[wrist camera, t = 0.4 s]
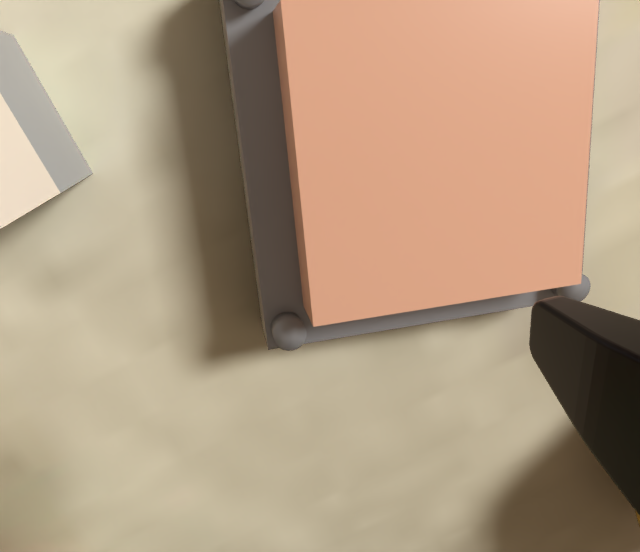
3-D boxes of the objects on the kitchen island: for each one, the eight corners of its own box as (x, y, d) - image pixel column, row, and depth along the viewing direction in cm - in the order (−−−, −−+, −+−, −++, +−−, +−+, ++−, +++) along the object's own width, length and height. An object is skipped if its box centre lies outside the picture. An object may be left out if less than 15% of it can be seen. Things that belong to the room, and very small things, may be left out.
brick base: (545, 280, 25) (614, 315, 21) (262, 324, 23) (274, 374, 19) (559, -42, 21) (647, -79, 17) (216, -22, 19) (219, -59, 15)
